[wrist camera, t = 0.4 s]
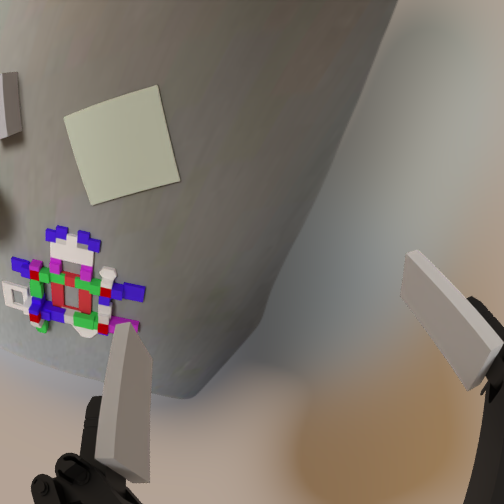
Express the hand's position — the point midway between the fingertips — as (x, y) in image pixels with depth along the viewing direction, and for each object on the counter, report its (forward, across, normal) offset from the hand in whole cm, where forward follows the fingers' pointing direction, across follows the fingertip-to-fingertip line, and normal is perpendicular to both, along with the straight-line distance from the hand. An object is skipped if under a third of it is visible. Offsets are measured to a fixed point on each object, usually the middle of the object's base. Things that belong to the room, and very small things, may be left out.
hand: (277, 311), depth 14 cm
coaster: (+27, -12, +5) cm, 30 cm away
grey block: (+27, -26, +16) cm, 41 cm away
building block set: (+28, -28, -12) cm, 41 cm away
